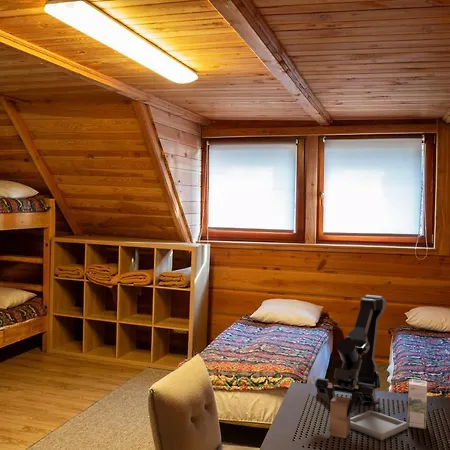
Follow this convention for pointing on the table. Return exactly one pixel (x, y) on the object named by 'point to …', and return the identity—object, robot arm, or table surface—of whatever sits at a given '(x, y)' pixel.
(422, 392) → the syrup box
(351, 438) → the table surface
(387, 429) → the tray
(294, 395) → the table surface
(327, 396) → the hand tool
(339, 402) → the walnut block
